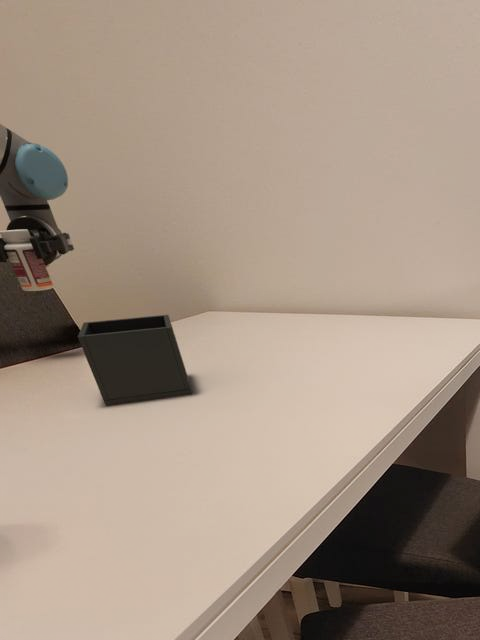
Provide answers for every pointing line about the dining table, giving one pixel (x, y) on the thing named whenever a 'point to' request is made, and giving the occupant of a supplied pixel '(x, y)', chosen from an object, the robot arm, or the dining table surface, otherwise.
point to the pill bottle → (26, 261)
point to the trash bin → (134, 359)
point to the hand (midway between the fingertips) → (16, 249)
